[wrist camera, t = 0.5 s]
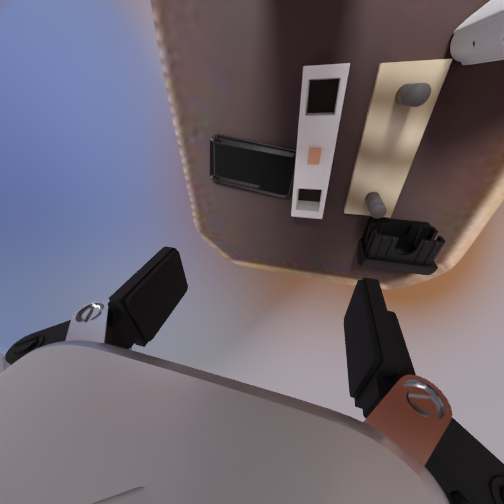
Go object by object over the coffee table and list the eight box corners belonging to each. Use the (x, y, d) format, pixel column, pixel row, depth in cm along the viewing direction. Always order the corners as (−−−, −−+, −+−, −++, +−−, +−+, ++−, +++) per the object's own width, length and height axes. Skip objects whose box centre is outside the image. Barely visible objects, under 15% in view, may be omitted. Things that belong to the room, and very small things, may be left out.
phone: (210, 133, 35) (301, 152, 33) (212, 132, 36) (302, 151, 34) (209, 181, 40) (289, 200, 38) (212, 179, 41) (290, 197, 39)
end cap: (355, 249, 41) (359, 273, 36) (366, 216, 37) (372, 237, 31) (415, 257, 39) (428, 283, 33) (433, 222, 34) (453, 246, 29)
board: (378, 64, 26) (391, 58, 21) (447, 59, 24) (478, 52, 19) (343, 210, 37) (346, 228, 32) (388, 214, 35) (398, 233, 31)
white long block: (305, 68, 28) (303, 65, 24) (347, 66, 26) (350, 62, 23) (293, 206, 39) (290, 217, 35) (322, 208, 38) (322, 220, 34)
